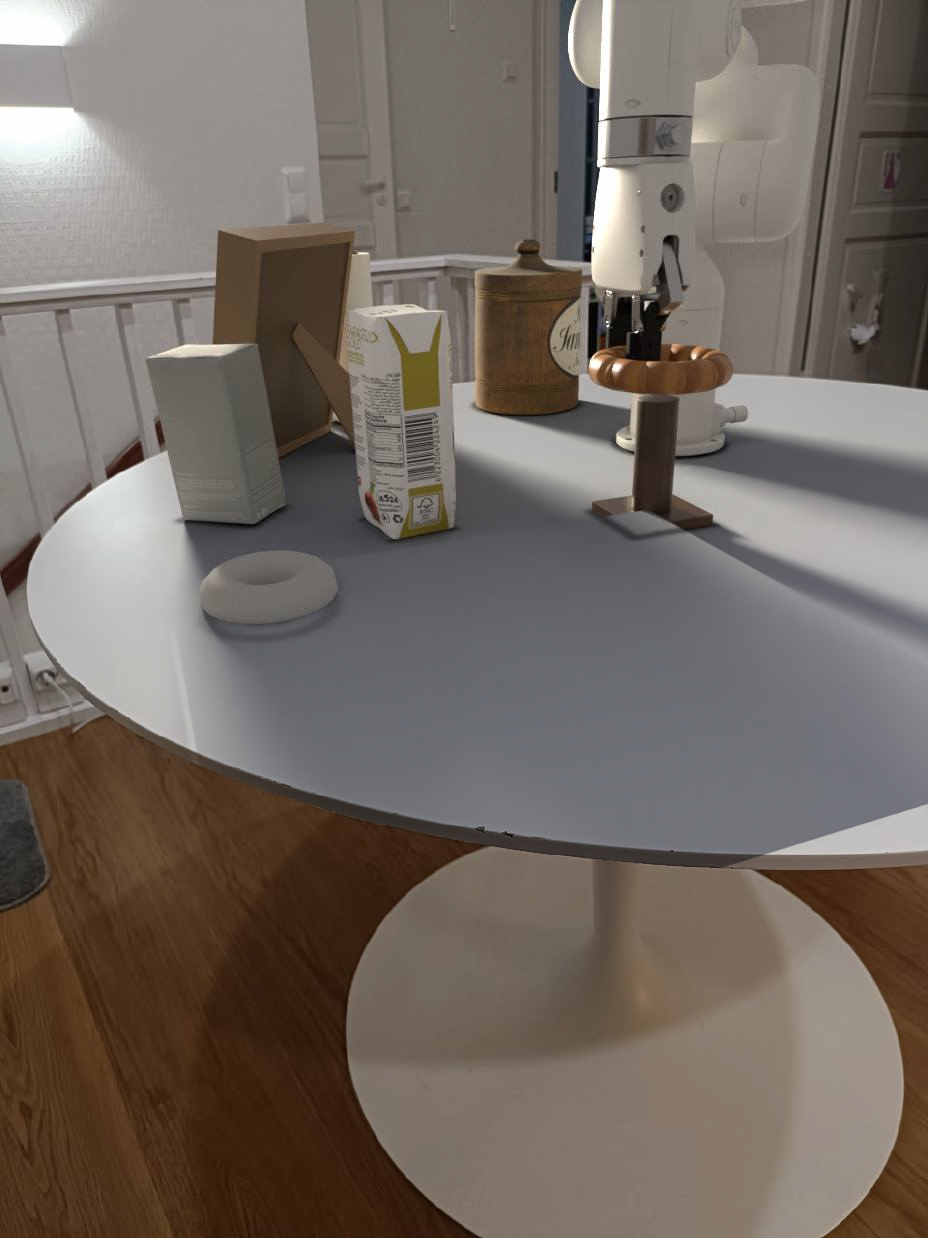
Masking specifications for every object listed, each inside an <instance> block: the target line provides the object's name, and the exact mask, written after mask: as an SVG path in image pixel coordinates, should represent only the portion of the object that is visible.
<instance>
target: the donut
mask: <svg viewBox="0 0 928 1238" xmlns="http://www.w3.org/2000/svg"><path fill="white" fill-rule="evenodd" d="M336 577H337V576H336V574H335V571H334V570H333V568H332V567H331V566H330V565H329V564H328V563H327V562H325V560H322V559H321V558H320V557H318V556H316V555H313V554H310V553H306V552H302V551H296V550H295V551H294V550H264V551H257V552H252V553H247V554H243V555H240V556H236V557H234V558H231V559H229V560H226V561H223V562H222V563H220V564H219V565H217V566H215V567H214V568H213V569H212V570H211V571H210V572H209V573H208V575H206V577H204V578H203V580H202V582H201V585H200V593H199V602H200V605H201V608H202V609H203V610H204V611H205V612H206V614H207V615H208V616H210V617H212V618H214V619H217V620H219V621H222V622H228V623H234V624H240V625H264V624H272V623H281V622H286V621H290V620H294V619H297V618H301V617H305V616H308V615H310V614H312V613H315V612H316V611H319V610H321V609H323V608H325V607H326V606H327V605H328V604H329V603H331V602H332V601H333V600H334V599H335V597H336V595H337V593H338V589H339V585H338V581H337V578H336Z"/></svg>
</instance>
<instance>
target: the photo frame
mask: <svg viewBox="0 0 928 1238" xmlns="http://www.w3.org/2000/svg"><path fill="white" fill-rule="evenodd" d="M355 235H356V231H355V230H352V229H349V228H345V227H341V226H337V225H333V224H329V223H325V222H313V223H312V222H311V223H310V222H309V223H296V224H285V225H270V226H257V227H256V226H255V227H243V228H229V229H219V230H217V243H216V244H217V246H216V266H215V267H216V268H215V286H214V287H215V288H214V306H213V308H214V309H213V325H212V326H213V327H212V345H230V344H258V350H259V355H260V360H261V366H262V371H263V377H264V382H265V388H266V393H267V399H268V404H269V410H270V415H271V420H272V426H273V432H274V437H275V442H276V448H277V453H278V459H279V458H281V457H282V456H285V455H286V454H288V453H290V452H293V451H295V450H296V449H298V448H300V447H302V446H304V445H306V444H308V443H310V442H312V441H314V440H316V439H317V438H320V437H322V436H323V435H325V434H329V432H331V431H332V425H333V419H334V418H333V411H334V413H335V415H336V416H337V418H338V420H339V421H340V422H339V423H340V425H341V426H342V428H343V430H344V432H345V434H346V435H347V437H348V439H349V441H350V442H351V444H352V446H353V447H354V448H355V439H354V426H353V414H352V402H351V389H350V377H349V373H348V372H347V371H346V370H345V369H344V368H343V367H342V366H341V365H340V364H339V360H340V352H341V344H342V336H343V327H344V319H345V311H346V302H347V294H348V286H349V277H350V269H351V261H352V253H353V251H354V243H355Z"/></svg>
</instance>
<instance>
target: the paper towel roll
mask: <svg viewBox="0 0 928 1238" xmlns="http://www.w3.org/2000/svg"><path fill="white" fill-rule="evenodd" d="M370 257H371V256H370V253H369V252H359V251H358V250H357V251H356V250H353V253H352V261H351V269H350V277H349V286H348V294H347V302H346V311H345V319H344V327H343V336H342V344H341V352H340V360H339V364H340V365H341V366H342V367H343V368H344V369H345V370H346V371H347V372H348V373H349V364H348V351H347V333H348V316H349V314H348V310H349V309H357V308H366V307H374V306H373V305H374V304H373V303H374V302H373V290H372V288H373V287H372V275H371V259H370ZM333 419H335V420H336V421H337V422H338V423H340V421H339V420H338V418H337V416H336V415H335V413H334V411H333Z"/></svg>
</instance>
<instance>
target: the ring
mask: <svg viewBox="0 0 928 1238" xmlns="http://www.w3.org/2000/svg"><path fill="white" fill-rule="evenodd" d="M626 347H627V345H625V346H616V347H612V348H608V349H606V348H605V349H601V350H598V351H597V352H595V353H594V354H593V355H592V357H591V359H590V361H589V365H588V376H589V379H590V380H591V381H592V383H594V384H595V385H597V386H600V387H603V388H605V389H608V390H611V391H614V392H620V393H628V394H632V393H636V394H649V395H681V394H690V393H700V392H707V391H710V390H713V389H715V388H716V389H718V388H720V387H723V386H725V385H726V384H728V382H730V380H731V379H732V377H733V374H734V365H733V363H732V361H731V360H730V358H729V356H728V355H727V354H726V353H725V352H724V351H721V350H720V349H719V350H714V349H710V348H706V347H701V346H690V345H679V344H661V356H660V362H659V361H638V360H628V359H626Z"/></svg>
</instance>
